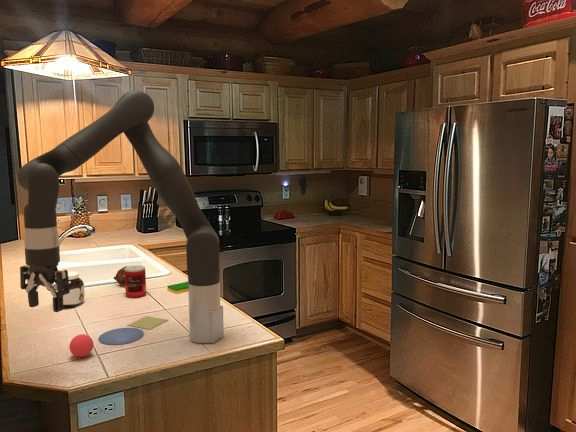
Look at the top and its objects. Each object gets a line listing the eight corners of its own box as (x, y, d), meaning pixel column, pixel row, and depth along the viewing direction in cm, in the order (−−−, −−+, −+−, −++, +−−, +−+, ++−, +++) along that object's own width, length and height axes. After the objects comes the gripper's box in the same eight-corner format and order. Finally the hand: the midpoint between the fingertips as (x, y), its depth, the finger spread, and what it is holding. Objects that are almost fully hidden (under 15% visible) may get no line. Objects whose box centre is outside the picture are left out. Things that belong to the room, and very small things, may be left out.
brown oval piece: (128, 292, 190) (122, 289, 200) (144, 278, 193) (137, 275, 203) (114, 277, 187) (108, 275, 197) (130, 263, 190) (124, 261, 201)
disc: (153, 331, 144) (153, 331, 144) (123, 347, 132) (123, 347, 132) (120, 325, 149) (120, 325, 149) (88, 340, 137) (88, 340, 137)
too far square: (167, 320, 154) (167, 319, 154) (149, 329, 146) (149, 329, 146) (146, 316, 157) (146, 316, 157) (127, 325, 149) (127, 325, 149)
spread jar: (70, 310, 164) (68, 278, 162) (42, 308, 166) (40, 276, 165) (91, 299, 176) (89, 269, 174) (65, 297, 178) (63, 268, 176)
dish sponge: (167, 291, 188) (166, 285, 187) (196, 285, 197) (196, 279, 197) (175, 295, 182) (175, 289, 182) (206, 288, 192) (205, 282, 191)
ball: (98, 353, 129) (97, 332, 128) (81, 362, 123) (80, 340, 122) (82, 349, 131) (81, 329, 130) (65, 358, 125) (63, 337, 125)
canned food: (138, 291, 186) (137, 264, 185) (150, 294, 181) (149, 267, 180) (121, 295, 181) (120, 268, 179) (133, 299, 176) (131, 271, 174)
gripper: (76, 244, 114) (79, 308, 117) (35, 239, 120) (39, 300, 122) (49, 250, 108) (53, 317, 110) (7, 244, 113) (12, 309, 115)
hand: (45, 308), depth 116 cm, fingers open, 8 cm apart
